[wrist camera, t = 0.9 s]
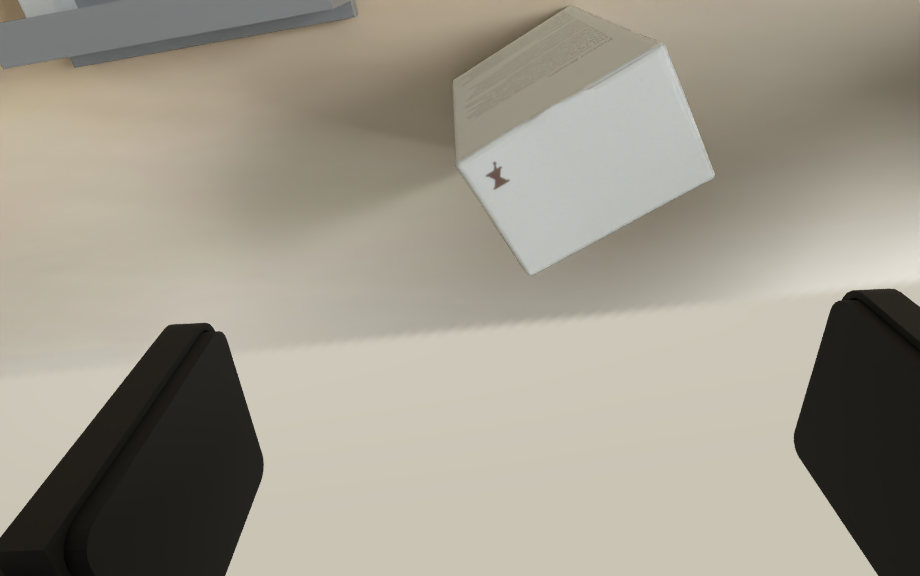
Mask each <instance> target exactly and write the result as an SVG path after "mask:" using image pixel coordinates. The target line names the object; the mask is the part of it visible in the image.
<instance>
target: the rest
mask: <svg viewBox="0 0 920 576" xmlns="http://www.w3.org/2000/svg"><path fill="white" fill-rule="evenodd" d="M18 1H19V3H20V5H21V8H22V10H23V12H24V14H25V16H26V18H24V19H19V20H14V21H8V22H3V23H0V64H1V66H2V68H3V69H6V68H12V67H17V66H23V65H28V64H34V63H39V62H45V61H50V60H56V59H61V58H67V57H70V59H71V61H72V63H73V65H74V67H81V66H86V65H92V64H98V63H103V62H109V61H114V60H120V59H125V58H131V57H136V56H142V55H147V54H153V53H159V52H164V51H170V50H175V49H181V48H186V47H192V46H197V45H203V44H208V43H214V42H220V41H225V40H231V39H236V38H242V37H247V36H253V35H258V34H264V33H269V32H275V31H281V30H286V29H292V28H297V27H303V26H308V25H314V24H319V23H325V22H330V21H336V20H342V19H347V18H353V17H355V16H357V15H358V13H357V9H356V4H355V0H18Z"/></svg>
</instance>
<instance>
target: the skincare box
mask: <svg viewBox="0 0 920 576" xmlns="http://www.w3.org/2000/svg"><path fill="white" fill-rule="evenodd" d="M453 108H454V129H455V147H456V151H455V154H456V168H457V170H458V171H459V173H460V174H461V176H462V177H463V179H464V180H465V181H466V183H467V184H468V186H469V187H470V189H471V190H472V192H473V193H474V195H475V196H476V198H477V199H478V201H479V202H480V204H481V205H482V207H483V208H484V210H485V211H486V213H487V214H488V216H489V217H490V219H491V220H492V222H493V223H494V225H495V226H496V228H497V230H498V231H499V233H500V234H501V236H502V237H503V239H504V240H505V242H506V243H507V245H508V246H509V248H510V249H511V251H512V252H513V254H514V255H515V257H516V258H517V260H518V261H519V263H520V265H521V266H522V268H523V269H524V271H525V272H526V273H527V274H528V275H534V274H536V273H537V272H539V271H541V270H543V269H545V268H547V267H549V266H551V265H553V264H554V263H556V262H558V261H560V260H562V259H564V258H566V257H568V256H569V255H571V254H573V253H575V252H577V251H579V250H581V249H583V248H584V247H586V246H588V245H590V244H592V243H594V242H596V241H597V240H599V239H601V238H603V237H605V236H607V235H608V234H610V233H612V232H614V231H616V230H618V229H619V228H621V227H623V226H625V225H627V224H629V223H630V222H632V221H634V220H636V219H638V218H640V217H641V216H643V215H645V214H647V213H649V212H651V211H653V210H654V209H656V208H658V207H660V206H662V205H664V204H666V203H667V202H669V201H671V200H673V199H675V198H677V197H679V196H680V195H682V194H684V193H686V192H688V191H690V190H692V189H694V188H696V187H698V186H699V185H701V184H703V183H705V182H708V181H710V180H712V179H713V178H714V176H715V173H714V170H713V168H712V165H711V163H710V160H709V157H708V155H707V152H706V149H705V147H704V144H703V141H702V139H701V136H700V134H699V131H698V128H697V126H696V123H695V120H694V118H693V115H692V113H691V110H690V107H689V105H688V102H687V99H686V97H685V94H684V91H683V89H682V86H681V84H680V81H679V79H678V76H677V74H676V71H675V69H674V66H673V64H672V61H671V59H670V56H669V53H668V51H667V48H666V46H665V44H664V43H662V42H659V41H656V40H654V39H651V38H648V37H646V36H643V35H641V34H638V33H636V32H633V31H631V30H628V29H626V28H623V27H621V26H619V25H617V24H614V23H612V22H610V21H607V20H605V19H603V18H600V17H598V16H596V15H593V14H591V13H589V12H587V11H584V10H582V9H580V8H577V7H575V6H568V7H567V8H565V9H563V10H562V11H560V12H559V13H557V14H556V15H554V16H552V17H551V18H549V19H548V20H546V21H545V22H543V23H541V24H540V25H538V26H537V27H535V28H534V29H532V30H530V31H529V32H527V33H526V34H524V35H523V36H521V37H520V38H518V39H516V40H515V41H513V42H512V43H510V44H509V45H507V46H505V47H504V48H502V49H501V50H499V51H498V52H496V53H494V54H493V55H491V56H490V57H488V58H487V59H485V60H484V61H482V62H481V63H479V64H477V65H476V66H474V67H473V68H471V69H470V70H468V71H467V72H465V73H463V74H462V75H460V76H459V77H457V78H455V79H454V80H453Z"/></svg>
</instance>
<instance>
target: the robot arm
mask: <svg viewBox="0 0 920 576" xmlns="http://www.w3.org/2000/svg"><path fill="white" fill-rule="evenodd" d="M794 444H795V449H796V452H797V454H798V456H799V458H800V459H801V461H802V462H803V464H804V465H805V467H806V468H807V470H808V471H809V473H810V474H811V476H812V477H813V479H814V480H815V482H816V483H817V485H818V486H819V488H820V489H821V491H822V492H823V494H824V495H825V497H826V498H827V500H828V501H829V503H830V504H831V506H832V507H833V509H834V510H835V512H836V513H837V515H838V516H839V518H840V519H841V521H842V522H843V524H844V525H845V526H846V528H847V530H848V531H849V532H850V534H851V535H852V537H853V539H854V540H855V542H856V543H857V545H858V546H859V547H860V549H861V550H862V552H863V553H864V555H865V556H866V558H867V559H868V561H869V562H870V564H871V565H872V567H873V568H874V570H875V571H876V573H877V574H878V576H920V307H919V306H918V305H916V304H915V303H914V302H912V301H911V300H910V299H909V298H907V297H906V296H905V295H904V294H902V293H901V292H899V291H897V290H895V289H873V290H853V291H850V292H848V293H847V294H846V295H845V296H844V297H843V299H842V301H838V302H835V304H834V305H833V306H832V308H831V310H830V314H829V317H828V320H827V324H826V328H825V331H824V334H823V337H822V341H821V344H820V348H819V351H818V355H817V358H816V361H815V364H814V368H813V371H812V375H811V378H810V381H809V385H808V388H807V392H806V395H805V398H804V402H803V405H802V408H801V412H800V415H799V419H798V422H797V426H796V429H795V433H794ZM263 465H264V464H263V456H262V452H261V449H260V446H259V442H258V439H257V436H256V433H255V430H254V426H253V423H252V420H251V416H250V413H249V410H248V407H247V404H246V400H245V397H244V394H243V391H242V387H241V384H240V381H239V378H238V374H237V372H236V368H235V365H234V361H233V358H232V355H231V352H230V349H229V345H228V342H227V339H226V337H225V335H224V334H223V333H222V332H220V331H218V332H215V331H214V328H213V327H212V326H211V325H210V324H208V323H194V324H174V325H168V326H167V327H166V328H165V329H164V330H163V331H162V333H161V334H160V335H159V337H158V338H157V339H156V340H155V342H154V343H153V344H152V345H151V347H150V348H149V349H148V350H147V352H146V353H145V354H144V356H143V357H142V358H141V359H140V361H139V362H138V363H137V364H136V366H135V367H134V368H133V370H132V371H131V372H130V374H129V375H128V376H127V377H126V378H125V380H124V381H123V383H122V384H121V385H120V386H119V387H118V389H117V390H116V391H115V393H114V394H113V395H112V396H111V398H110V399H109V400H108V401H107V403H106V404H105V405H104V407H103V408H102V409H101V410H100V411H99V413H98V414H97V415H96V417H95V418H94V419H93V420H92V422H91V423H90V424H89V426H88V427H87V428H86V429H85V431H84V432H83V433H82V435H81V436H80V437H79V438H78V440H77V441H76V442H75V443H74V445H73V446H72V447H71V448H70V450H69V451H68V452H67V453H66V455H65V456H64V457H63V458H62V460H61V461H60V462H59V464H58V465H57V466H56V467H55V469H54V470H53V471H52V473H51V474H50V475H49V476H48V478H47V479H46V480H45V481H44V483H43V484H42V485H41V486H40V488H39V489H38V490H37V492H36V493H35V494H34V496H33V497H32V498H31V499H30V500H29V502H28V503H27V504H26V506H25V507H24V508H23V509H22V511H21V512H20V513H19V515H18V516H17V517H16V518H15V520H14V521H13V522H12V524H11V525H10V526H9V527H8V528H7V530H6V531H5V532H4V534H3V535H2V536H1V537H0V576H225V575H226V572H227V569H228V566H229V564H230V561H231V559H232V556H233V553H234V551H235V548H236V546H237V543H238V540H239V537H240V535H241V532H242V530H243V527H244V524H245V522H246V519H247V516H248V514H249V511H250V509H251V506H252V503H253V501H254V498H255V495H256V493H257V490H258V487H259V485H260V482H261V479H262V475H263Z"/></svg>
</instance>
